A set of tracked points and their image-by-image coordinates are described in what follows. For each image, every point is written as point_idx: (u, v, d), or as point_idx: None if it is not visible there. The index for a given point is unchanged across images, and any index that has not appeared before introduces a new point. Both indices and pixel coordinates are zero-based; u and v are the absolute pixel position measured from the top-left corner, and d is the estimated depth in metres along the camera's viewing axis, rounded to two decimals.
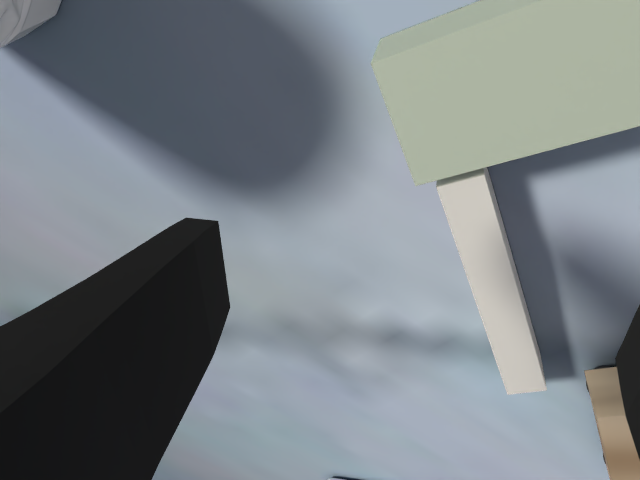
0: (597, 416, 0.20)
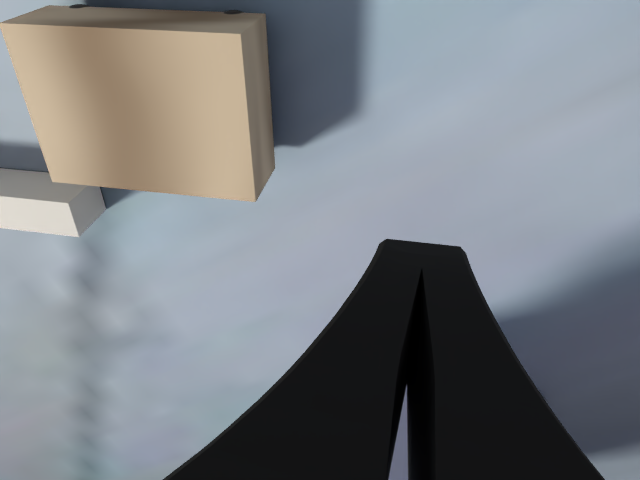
0: (53, 180, 0.18)
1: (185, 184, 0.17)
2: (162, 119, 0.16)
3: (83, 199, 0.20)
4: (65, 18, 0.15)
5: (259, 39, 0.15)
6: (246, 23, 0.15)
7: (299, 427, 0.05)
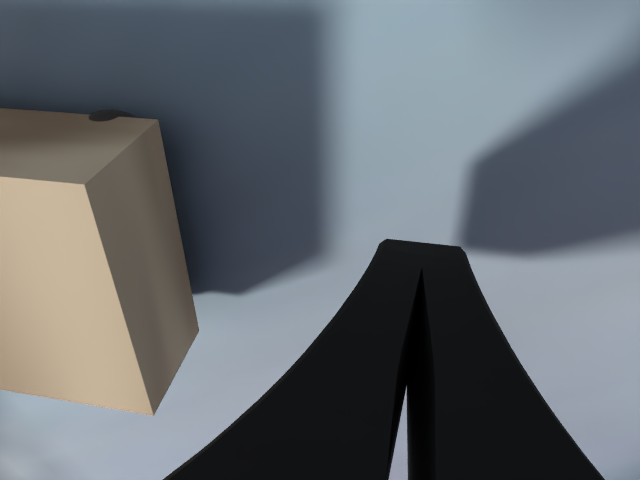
0: None
1: (40, 384, 0.10)
2: None
3: None
4: None
5: (144, 167, 0.09)
6: (112, 149, 0.08)
7: (299, 428, 0.05)
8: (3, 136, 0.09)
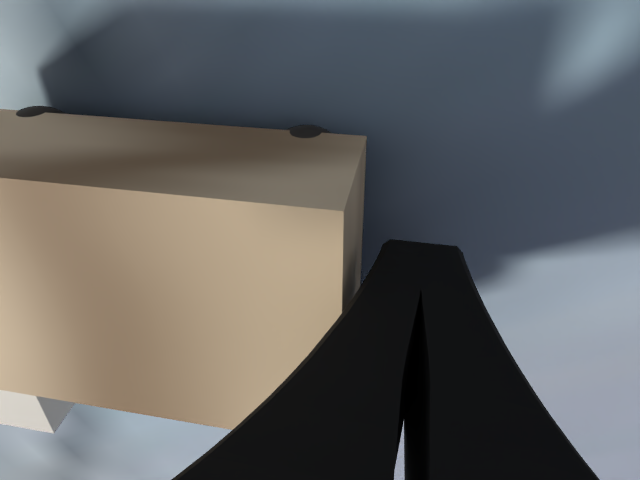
0: None
1: (217, 414, 0.10)
2: (181, 327, 0.09)
3: None
4: (1, 150, 0.08)
5: (359, 187, 0.08)
6: (342, 169, 0.08)
7: (304, 428, 0.05)
8: (214, 155, 0.08)
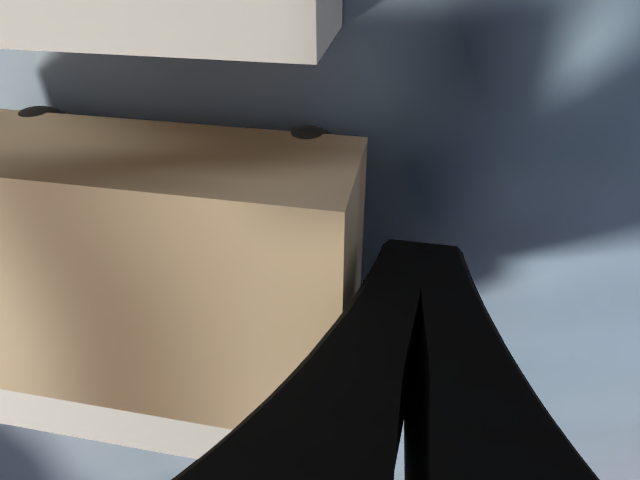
0: None
1: (216, 414, 0.10)
2: (182, 327, 0.09)
3: None
4: (3, 150, 0.08)
5: (360, 189, 0.08)
6: (343, 171, 0.08)
7: (305, 428, 0.05)
8: (215, 155, 0.08)
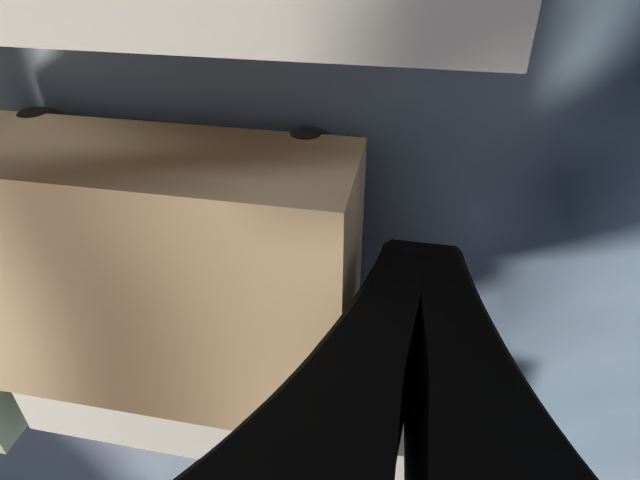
0: None
1: (216, 415, 0.10)
2: (180, 328, 0.09)
3: None
4: (1, 151, 0.08)
5: (359, 189, 0.08)
6: (342, 171, 0.08)
7: (306, 428, 0.05)
8: (214, 156, 0.08)
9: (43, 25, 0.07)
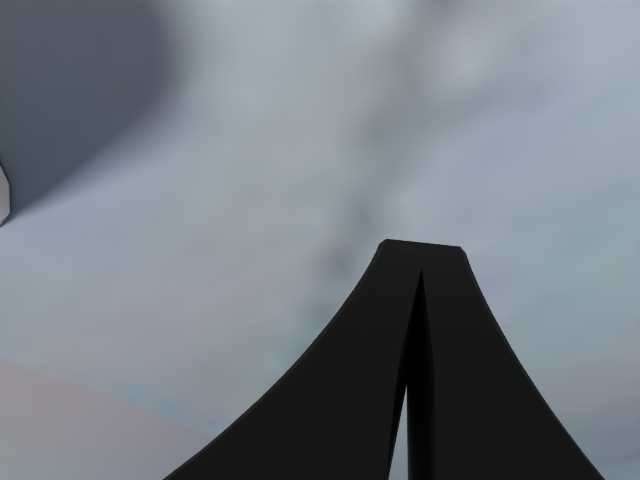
0: None
1: None
2: None
3: None
4: None
5: None
6: None
7: (299, 428, 0.05)
8: None
9: None
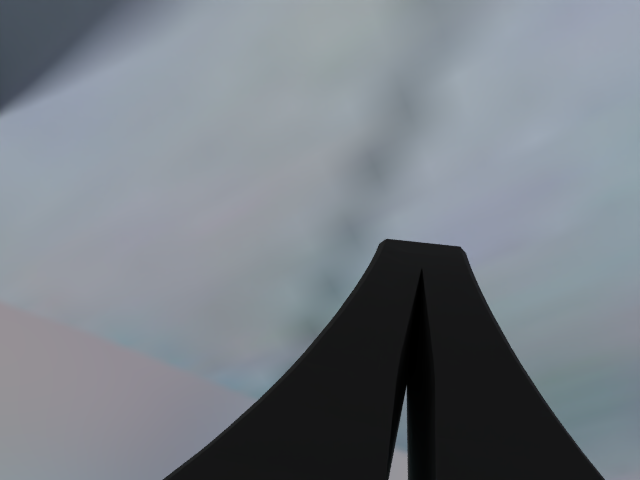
0: None
1: None
2: None
3: None
4: None
5: None
6: None
7: (299, 427, 0.05)
8: None
9: None
